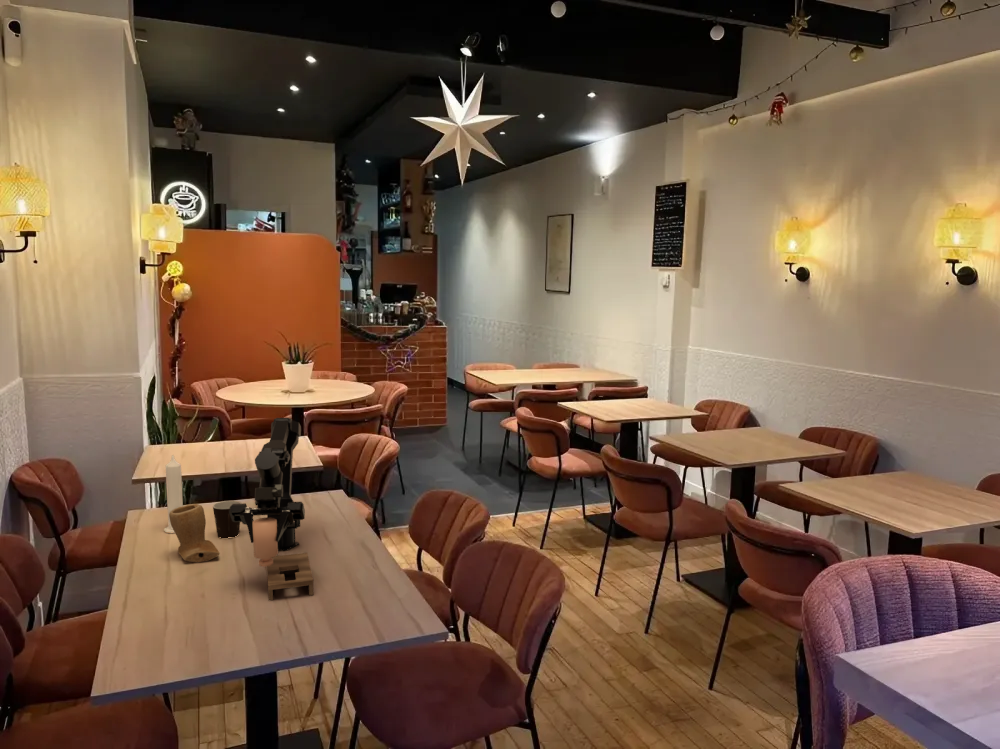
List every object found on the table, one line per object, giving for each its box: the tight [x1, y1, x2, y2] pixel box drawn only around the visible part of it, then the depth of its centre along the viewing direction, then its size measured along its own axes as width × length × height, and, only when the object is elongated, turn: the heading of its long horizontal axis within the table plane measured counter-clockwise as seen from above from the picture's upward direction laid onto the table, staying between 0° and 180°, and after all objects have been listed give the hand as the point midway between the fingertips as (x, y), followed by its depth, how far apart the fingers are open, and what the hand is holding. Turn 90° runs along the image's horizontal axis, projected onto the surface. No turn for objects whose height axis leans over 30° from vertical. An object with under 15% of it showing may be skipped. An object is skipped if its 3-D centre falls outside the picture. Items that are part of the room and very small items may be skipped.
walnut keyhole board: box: [266, 552, 314, 601], centre depth 191 cm, size 20×11×4 cm, turn 19°
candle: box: [163, 454, 184, 533], centre depth 229 cm, size 7×7×25 cm
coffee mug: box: [212, 500, 243, 539], centre depth 225 cm, size 12×9×10 cm
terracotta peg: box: [252, 517, 279, 568], centre depth 186 cm, size 6×6×12 cm
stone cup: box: [169, 503, 220, 563], centre depth 209 cm, size 15×12×15 cm
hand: (264, 541), depth 185 cm, fingers closed on terracotta peg, 6 cm apart
